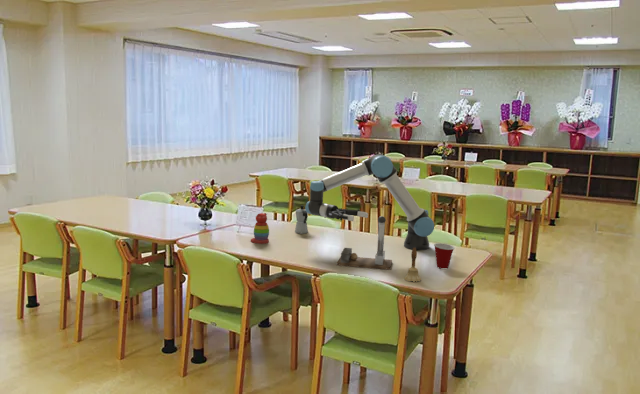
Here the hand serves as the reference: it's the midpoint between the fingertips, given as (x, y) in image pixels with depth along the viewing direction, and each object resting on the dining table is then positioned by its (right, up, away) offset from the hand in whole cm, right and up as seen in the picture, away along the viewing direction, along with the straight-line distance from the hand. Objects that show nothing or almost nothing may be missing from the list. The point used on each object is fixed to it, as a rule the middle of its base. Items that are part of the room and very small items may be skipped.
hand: (360, 216), depth 292 cm
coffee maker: (-34, -13, +66) cm, 76 cm away
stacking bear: (-58, -17, +39) cm, 72 cm away
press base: (+2, -25, -2) cm, 25 cm away
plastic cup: (+43, -27, -4) cm, 51 cm away
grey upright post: (+10, -24, -4) cm, 26 cm away
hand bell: (+23, -30, -26) cm, 46 cm away
